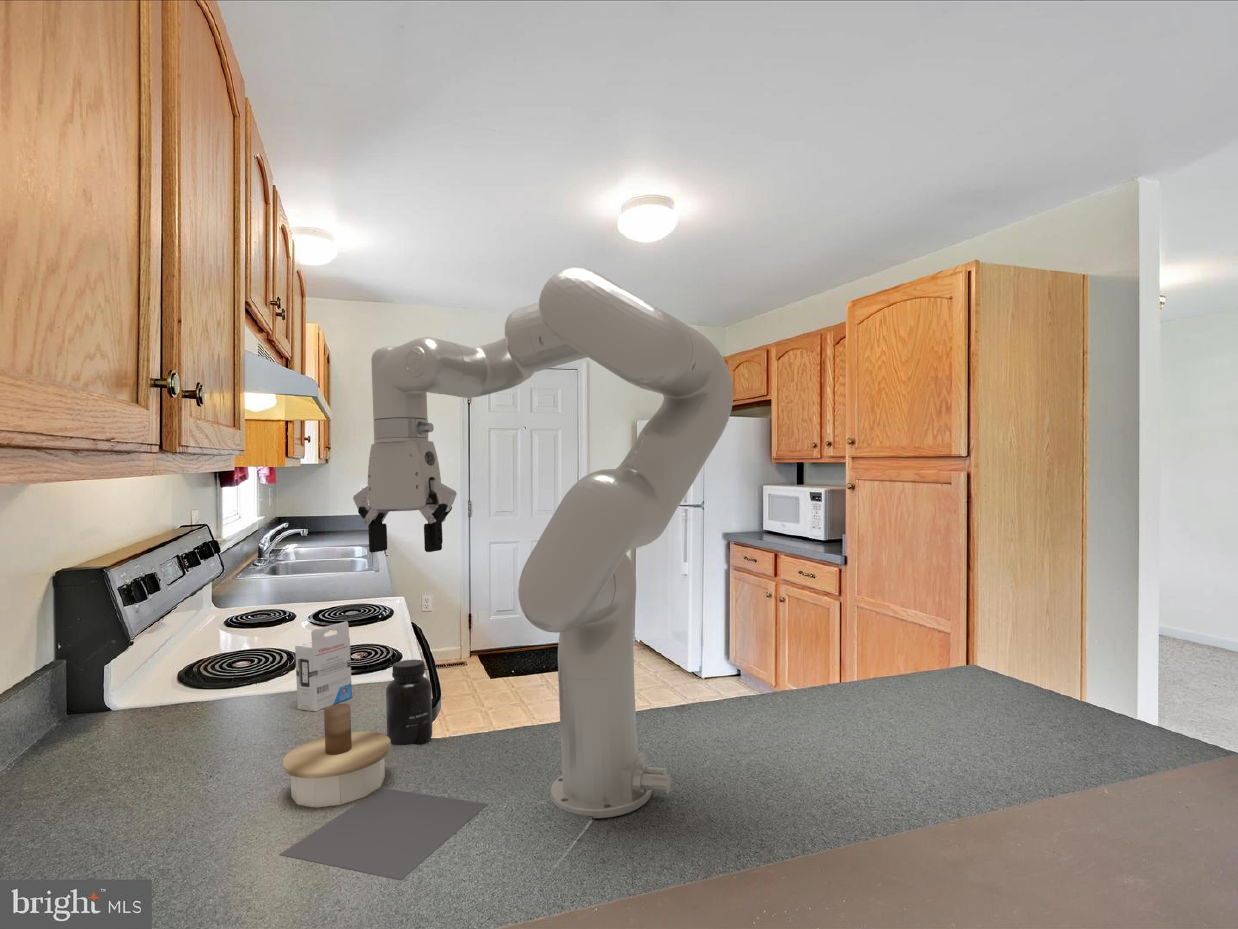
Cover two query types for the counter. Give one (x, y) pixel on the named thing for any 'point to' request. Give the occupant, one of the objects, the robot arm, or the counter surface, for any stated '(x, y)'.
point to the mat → (386, 833)
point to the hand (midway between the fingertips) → (405, 551)
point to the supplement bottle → (409, 704)
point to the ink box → (324, 668)
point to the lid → (337, 748)
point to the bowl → (337, 787)
